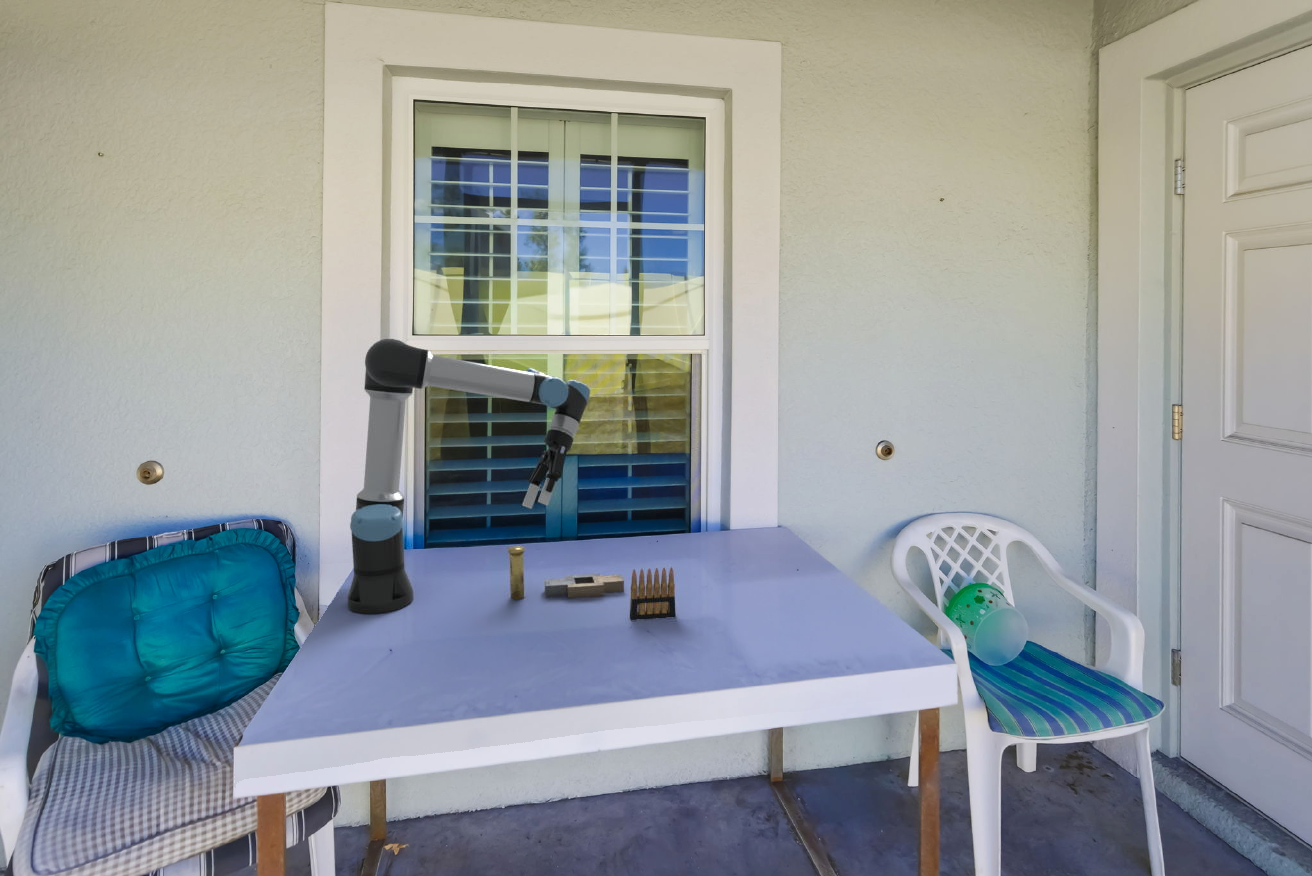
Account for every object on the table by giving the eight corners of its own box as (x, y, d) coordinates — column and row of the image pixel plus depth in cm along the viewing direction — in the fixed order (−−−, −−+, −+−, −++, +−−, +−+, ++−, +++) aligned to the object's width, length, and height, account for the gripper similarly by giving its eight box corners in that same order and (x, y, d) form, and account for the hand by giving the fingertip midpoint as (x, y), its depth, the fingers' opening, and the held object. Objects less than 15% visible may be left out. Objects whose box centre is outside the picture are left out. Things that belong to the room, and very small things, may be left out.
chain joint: (546, 600, 174) (545, 588, 174) (544, 588, 183) (544, 577, 182) (625, 594, 178) (625, 583, 178) (619, 583, 187) (619, 572, 187)
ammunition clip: (674, 614, 166) (674, 565, 164) (675, 617, 164) (676, 568, 163) (629, 617, 164) (629, 568, 162) (630, 620, 162) (630, 570, 161)
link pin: (508, 601, 174) (507, 551, 172) (508, 595, 178) (507, 546, 176) (526, 599, 175) (525, 550, 173) (525, 594, 179) (524, 545, 177)
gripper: (590, 432, 184) (563, 507, 177) (558, 445, 206) (532, 513, 199) (565, 420, 181) (536, 496, 174) (535, 435, 203) (508, 503, 196)
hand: (534, 505), depth 187 cm, fingers open, 13 cm apart
